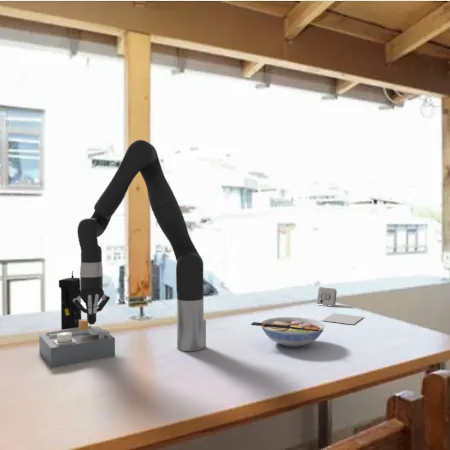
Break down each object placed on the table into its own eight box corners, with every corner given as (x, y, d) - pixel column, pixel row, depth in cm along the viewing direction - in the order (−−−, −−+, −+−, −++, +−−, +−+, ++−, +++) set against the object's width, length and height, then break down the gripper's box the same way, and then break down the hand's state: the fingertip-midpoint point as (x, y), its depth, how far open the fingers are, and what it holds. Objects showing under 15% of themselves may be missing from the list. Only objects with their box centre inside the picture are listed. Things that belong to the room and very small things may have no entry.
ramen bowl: (333, 340, 160) (333, 318, 160) (319, 358, 140) (319, 333, 140) (269, 333, 171) (269, 312, 171) (247, 349, 150) (247, 325, 150)
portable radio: (72, 342, 159) (71, 274, 159) (57, 341, 160) (56, 273, 160) (83, 336, 167) (82, 271, 166) (69, 335, 168) (68, 271, 168)
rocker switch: (105, 333, 147) (106, 329, 147) (109, 335, 144) (109, 332, 144) (88, 332, 144) (88, 328, 144) (91, 334, 141) (92, 330, 141)
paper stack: (385, 320, 192) (385, 319, 192) (371, 333, 171) (371, 332, 171) (334, 314, 204) (334, 313, 204) (314, 325, 183) (314, 324, 183)
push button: (70, 337, 141) (69, 331, 141) (73, 340, 137) (73, 334, 137) (55, 339, 139) (55, 333, 139) (59, 343, 135) (58, 336, 135)
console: (98, 342, 158) (98, 320, 158) (115, 355, 143) (114, 331, 143) (39, 352, 147) (39, 328, 147) (50, 367, 132) (50, 341, 132)
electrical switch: (316, 305, 225) (317, 287, 226) (320, 304, 229) (321, 286, 230) (333, 307, 219) (334, 288, 220) (337, 306, 224) (338, 288, 224)
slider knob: (85, 329, 153) (85, 318, 153) (88, 330, 151) (88, 320, 151) (78, 330, 152) (78, 319, 152) (81, 331, 149) (81, 321, 149)
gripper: (74, 277, 146) (75, 328, 146) (113, 274, 153) (113, 323, 153) (69, 275, 152) (69, 324, 153) (106, 272, 159) (106, 319, 160)
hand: (91, 323), depth 153 cm, fingers closed
